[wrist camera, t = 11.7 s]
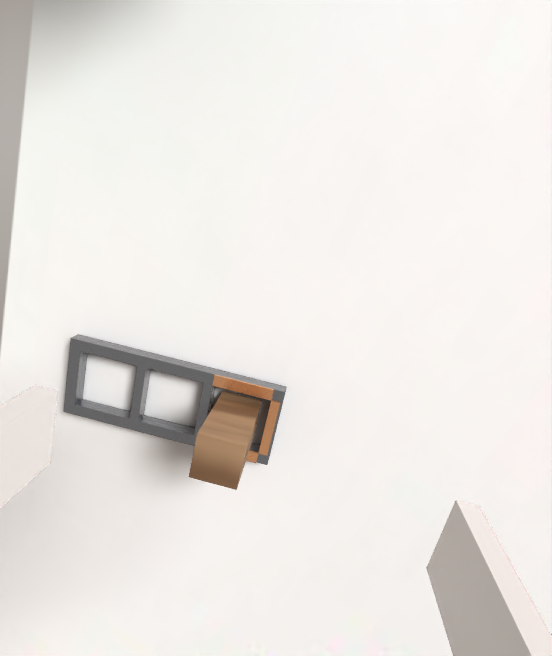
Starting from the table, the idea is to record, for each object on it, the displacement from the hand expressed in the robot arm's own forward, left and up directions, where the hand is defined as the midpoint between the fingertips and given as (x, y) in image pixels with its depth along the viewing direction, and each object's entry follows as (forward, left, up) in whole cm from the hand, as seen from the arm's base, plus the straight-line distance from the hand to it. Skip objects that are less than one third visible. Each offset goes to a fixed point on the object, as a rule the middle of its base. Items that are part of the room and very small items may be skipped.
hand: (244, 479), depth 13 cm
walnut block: (+14, -3, -31) cm, 34 cm away
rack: (+14, -11, -31) cm, 35 cm away
